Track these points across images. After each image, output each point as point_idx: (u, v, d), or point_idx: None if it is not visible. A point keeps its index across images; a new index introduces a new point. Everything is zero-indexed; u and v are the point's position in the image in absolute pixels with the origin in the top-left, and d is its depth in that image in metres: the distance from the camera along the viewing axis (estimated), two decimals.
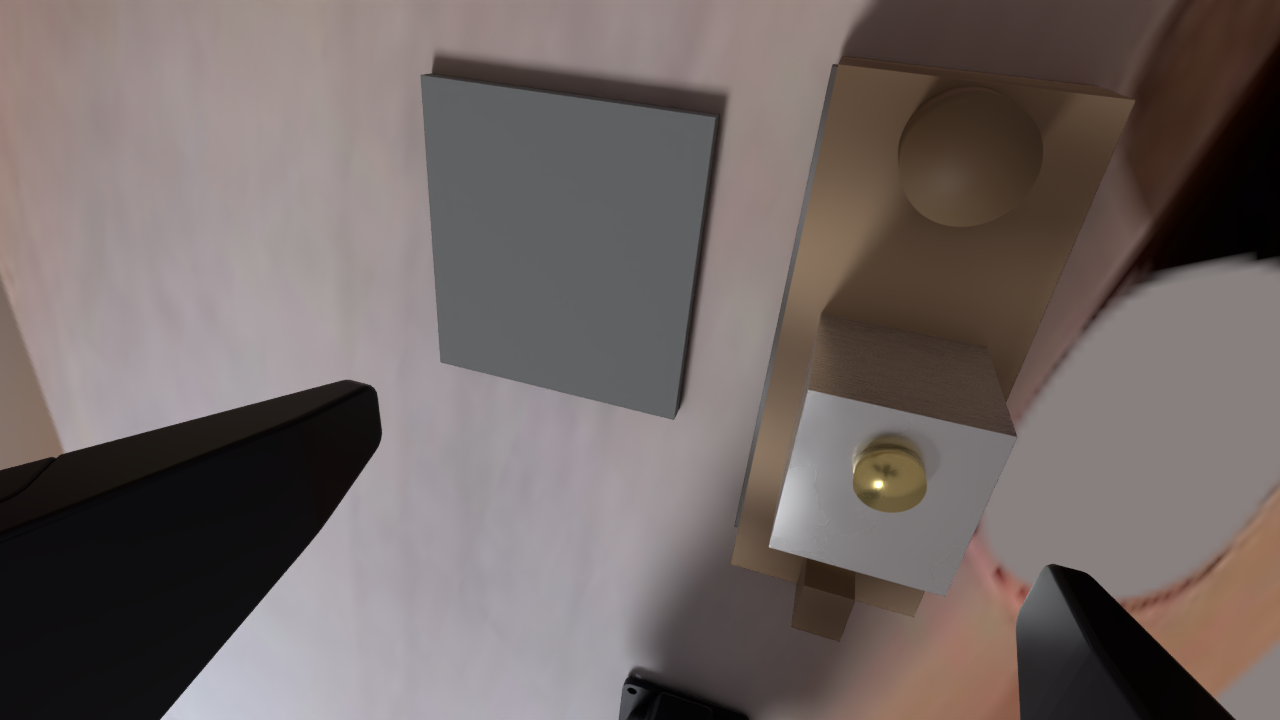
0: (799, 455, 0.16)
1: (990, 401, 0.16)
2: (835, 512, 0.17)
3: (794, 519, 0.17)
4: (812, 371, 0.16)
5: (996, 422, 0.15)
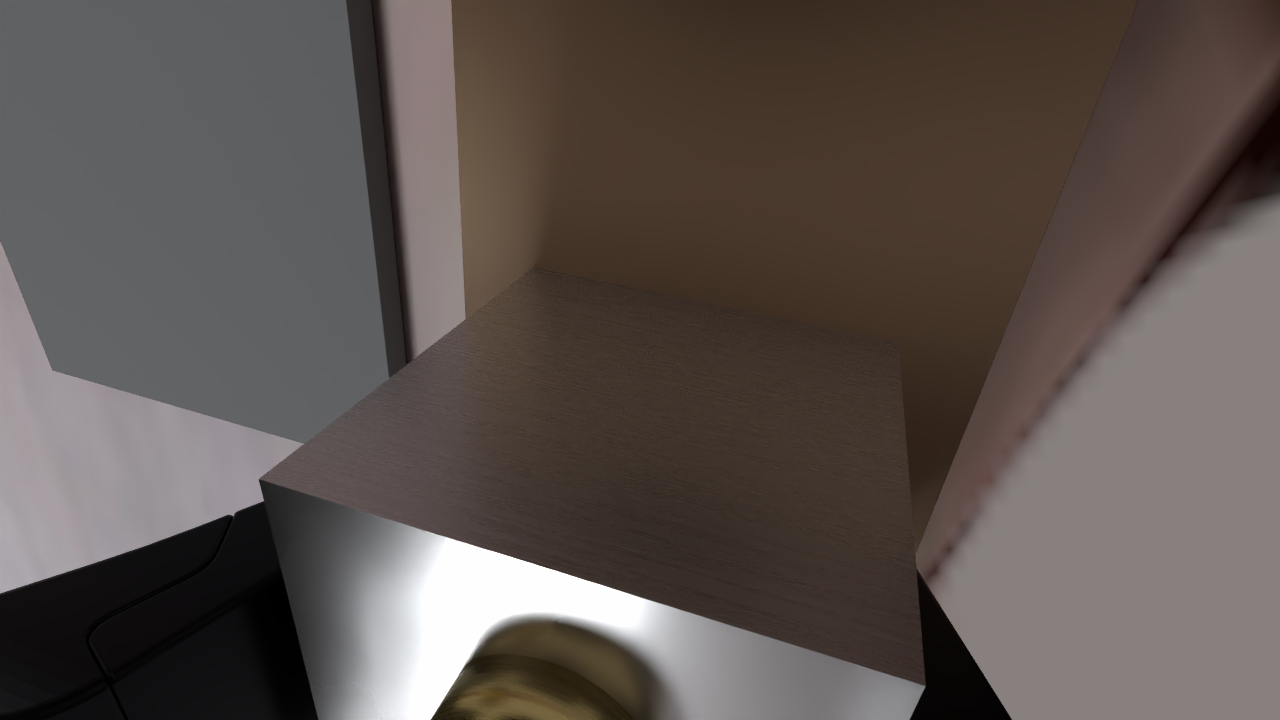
0: (319, 656, 0.06)
1: (861, 513, 0.05)
2: None
3: None
4: (348, 412, 0.05)
5: (860, 609, 0.04)
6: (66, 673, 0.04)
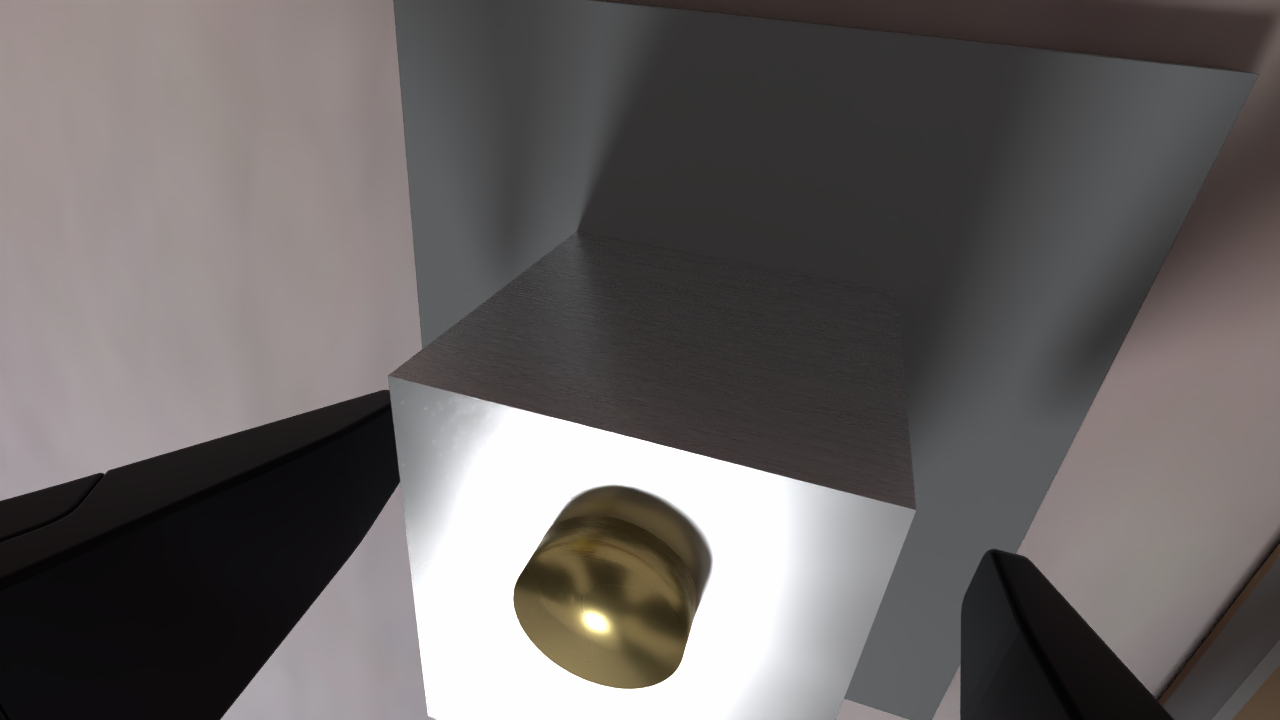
0: (422, 534, 0.07)
1: (866, 406, 0.06)
2: (528, 662, 0.07)
3: (455, 668, 0.08)
4: (446, 333, 0.07)
5: (866, 465, 0.05)
6: None
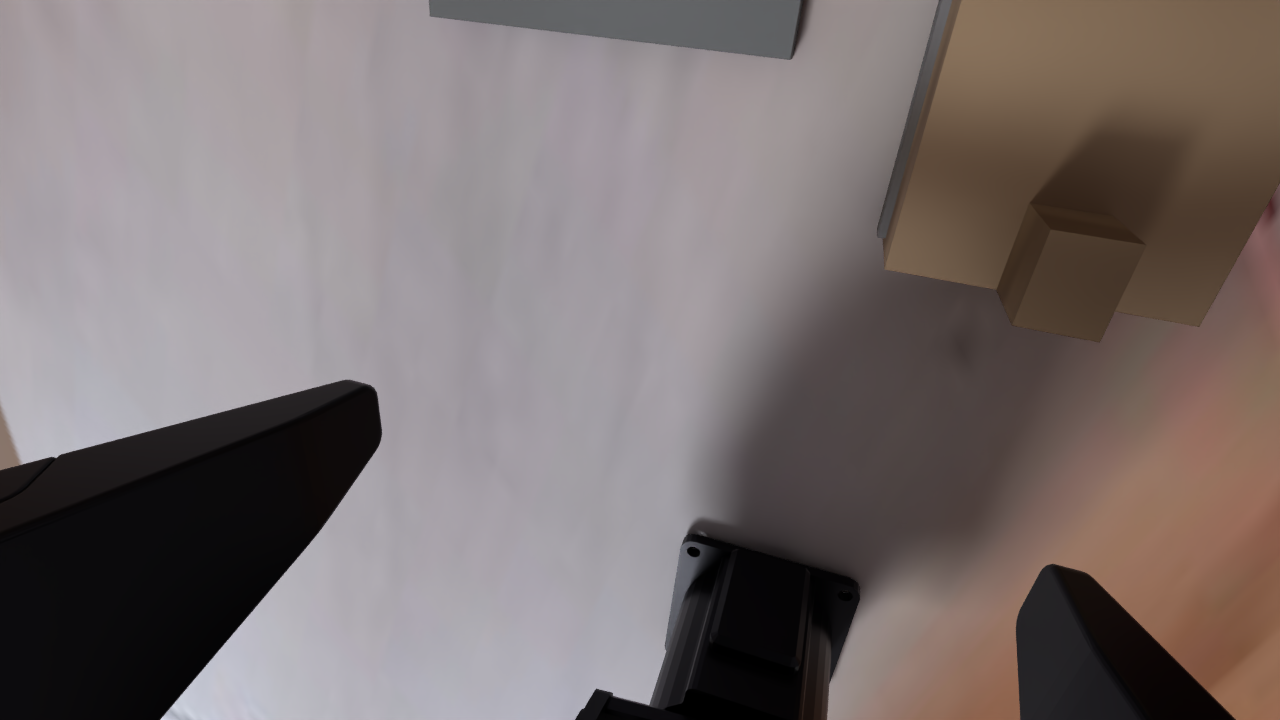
0: None
1: None
2: None
3: None
4: None
5: None
6: None
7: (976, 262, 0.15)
